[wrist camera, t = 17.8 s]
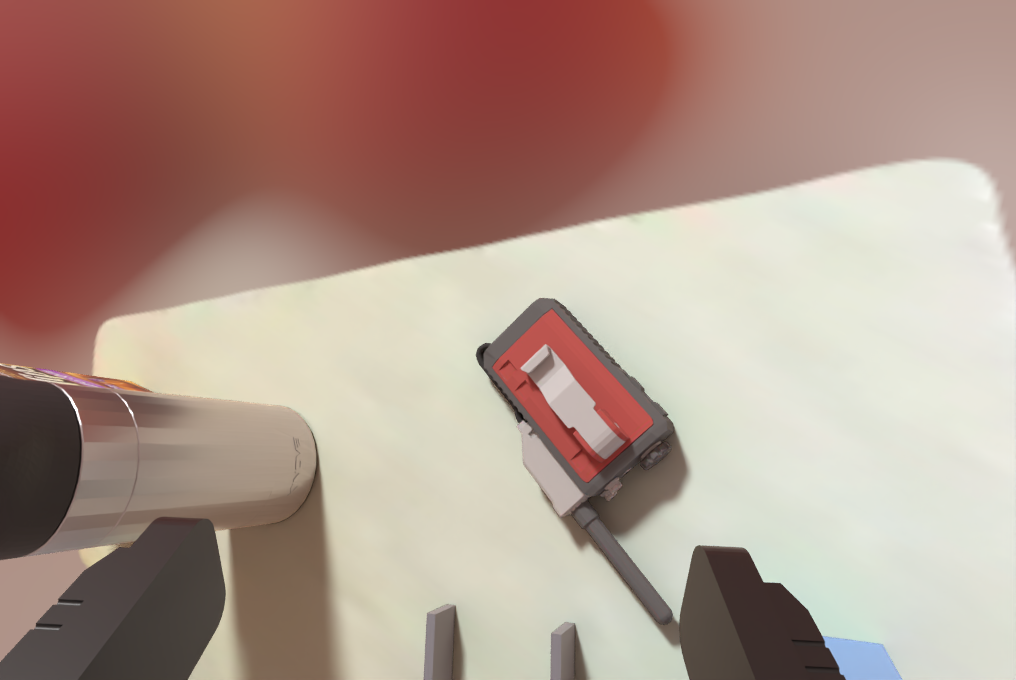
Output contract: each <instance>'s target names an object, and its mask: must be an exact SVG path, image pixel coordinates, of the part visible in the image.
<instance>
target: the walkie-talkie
mask: <svg viewBox="0 0 1016 680" xmlns="http://www.w3.org/2000/svg"><path fill="white" fill-rule="evenodd" d="M581 325H582V324H581V323H580V322H578V321H577V320H576V318H575V317H574V316H573V315H571V312H570V311H568V310H567V309H566V307H565V306H564V305H562V304H561V303H560V302H558V301H557V300H555V299H548V298H539V299H538V300H536V301H535V302H533V303H532V304H531V305H530V306H529V307H528V308H527V309H526V310H525V311H524V312H523V313H522V314H521V315H520V316H519V317H518V318H517V319H516V320H515V321H514V322H513V323H512V324H511V325H510V326H509V327H508V328H507V329H506V330H505V331H504V332H503V333H502V334H501V335H500V336H499V337H498V338H497V339H496V340H495V341H494V342H493V343H492V344H491V343H485V344H483V345H481V346H480V347H479V348H478V349H477V353H476V357H477V360H478V363H479V365H480V366H481V367H482V368H483V370H484V371H485V372H486V374H487V375H488V376H489V377H490V379H491V380H492V381H493V382H494V384H495V385H496V386H497V387H498V389H499V390H500V391H501V393H502V394H503V395H504V396H505V398H506V399H507V400H508V401H509V403H510V404H511V405H512V407H513V409H514V410H515V414H516V419H517V420H518V422H519V424H518V425H517V426H516V427H517V428H518V429H519V431H520V432H521V434H522V452H523V464H524V466H525V467H526V469H527V470H528V471H529V473H530V474H531V475H532V477H533V478H534V479H535V481H536V482H537V483H538V485H539V486H540V487H541V489H542V490H543V491H544V493H545V494H546V495H547V497H548V498H549V499H550V501H551V502H552V503H553V508H554V510H555V511H556V512H557V514H558V515H559V516H560V517H564V516H568V515H570V514H571V515H572V516H573V518H574V519H575V520H576V521H577V523H578V524H579V525H580V527H581V528H582V529H586V531H587V532H588V533H589V534H590V536H591V537H592V538H593V540H594V541H595V542H596V544H597V545H598V546H599V547H600V549H601V550H602V551H603V553H604V554H605V555H606V556H607V558H608V559H609V560H610V562H611V563H612V564H613V565H614V567H615V568H616V569H617V571H618V572H619V573H620V575H621V576H622V577H623V578H624V580H625V581H626V582H627V584H628V585H629V586H630V587H631V589H632V590H633V591H634V593H635V594H636V595H637V596H638V598H639V599H640V600H641V602H642V603H643V604H644V606H645V607H646V608H647V609H648V611H649V612H650V613H651V615H652V616H653V617H654V618H655V620H656V621H657V622H658V623H659V624H663V625H665V624H668V623H670V622H671V620H672V616H673V613H672V611H671V609H670V608H669V606H668V605H667V604H666V603H665V601H664V600H663V599H662V598H661V596H660V595H659V594H658V593H657V591H656V590H655V589H654V587H653V586H652V585H651V584H650V582H649V581H648V580H647V579H646V577H645V576H644V575H643V573H642V572H641V571H640V570H639V568H638V567H637V566H636V565H635V563H634V562H633V561H632V560H631V558H630V557H629V556H628V554H627V553H626V552H625V551H624V549H623V548H622V547H621V546H620V544H619V543H618V542H617V540H616V539H615V538H614V537H613V535H612V534H611V533H610V532H609V530H608V529H607V528H606V527H605V525H604V524H603V523H602V521H601V520H600V519H599V514H598V513H597V512H596V510H595V509H594V508H593V507H592V505H591V504H590V503H589V502H588V500H587V499H588V498H589V497H591V496H597V495H600V496H601V497H603V496H604V497H605V499H606V500H607V501H609V500H611V499H612V498H613V497H614V496H616V494H617V493H618V492H617V491H618V490H619V489H620V488H621V487H622V486H623V485H622V483H621V482H620V481H619V479H621V478H622V477H623V476H624V475H625V474H626V473H628V472H629V471H630V470H631V469H632V468H633V467H634V466H635V465H636V464H638V463H639V462H640V461H641V462H640V465H641V467H642V468H643V469H644V470H648V469H650V468H651V467H653V466H654V465H656V464H657V463H658V462H659V461H661V460H662V459H663V458H664V457H665V456H666V455H667V454H668V453H669V452H670V451H671V446H670V445H669V444H668V442H663V441H664V440H665V439H666V438H667V437H668V436H669V435H670V434H671V433H673V432H674V429H673V422H672V421H671V420H670V419H669V418H668V417H667V415H668V414H667V413H666V412H665V410H664V409H663V408H662V407H661V406H660V405H659V404H658V403H656V402H653V401H652V400H651V399H650V398H649V397H648V395H647V394H646V393H645V392H644V388H643V387H642V386H641V385H640V383H639V382H638V381H637V380H636V379H635V378H633V377H632V376H631V377H630V376H629V375H628V374H627V373H626V372H625V371H624V370H623V369H621V368H620V365H619V364H617V363H616V362H614V359H613V358H612V357H610V356H609V353H608V352H606V351H605V350H603V347H602V346H601V345H599V344H598V341H597V340H595V339H594V338H592V335H591V334H590V333H588V332H587V329H586V328H584V327H583V326H581ZM525 419H526V420H525ZM661 442H662V443H661Z"/></svg>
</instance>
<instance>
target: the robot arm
mask: <svg viewBox="0 0 1016 680" xmlns="http://www.w3.org/2000/svg"><path fill="white" fill-rule="evenodd" d="M315 470H316V449H315V443H314V439H313V436H312V433H311V430H310V428H309V427H308V425H307V424H306V422H305V420H304V419H303V418H302V417H301V416H300V415H299V414H298V413H297V412H295V411H293V410H292V409H290V408H287V407H283V406H278V405H268V404H259V403H249V402H241V401H231V400H221V399H211V398H201V397H191V396H181V395H171V394H162V393H152V392H142V391H132V390H122V389H112V388H102V387H89V386H80V385H70V384H60V383H50V382H43V381H32V380H24V379H17V378H12V377H8V376H3V375H0V560H3V559H11V558H18V557H26V556H33V555H41V554H49V553H55V552H63V551H71V550H79V549H84V548H91V547H99V546H106V545H114V544H121V543H129V542H134V543H133V545H132V546H131V547H130V548H123V547H119V548H118V549H116V550H115V551H113V552H112V553H110V554H109V555H107V556H106V557H104V558H103V559H101V560H100V561H98V562H97V563H95V564H94V565H92V566H91V567H89V568H88V569H86V570H85V571H84V572H83V573H82V574H81V575H80V576H79V577H78V578H77V579H76V581H75V582H74V583H73V584H72V585H71V586H70V587H69V588H68V589H67V590H66V591H65V593H63V595H62V596H61V597H60V598H59V599H58V600H59V601H58V603H57V605H52V607H51V608H50V609H49V610H48V611H47V612H46V613H45V614H44V615H43V616H42V617H41V618H40V620H39V621H38V622H37V623H36V627H35V629H34V630H30V631H29V632H28V633H27V634H26V635H25V636H24V637H23V638H22V639H21V640H20V641H19V642H18V644H17V645H16V646H15V647H14V648H13V649H12V650H11V651H10V652H9V653H8V654H7V655H6V656H5V658H4V659H3V660H2V661H1V662H0V680H188V678H189V676H190V674H191V673H192V671H193V669H194V667H195V666H196V664H197V662H198V661H199V659H200V657H201V655H202V654H203V652H204V650H205V648H206V647H207V645H208V643H209V641H210V640H211V638H212V636H213V634H214V633H215V631H216V629H217V627H218V625H219V622H220V620H221V617H222V613H223V610H224V605H225V595H226V591H225V583H224V578H223V572H222V567H221V561H220V556H219V550H218V545H217V539H216V534H215V531H219V530H226V529H236V528H243V527H250V526H257V525H265V524H271V523H277V522H280V521H282V520H284V519H287V518H288V517H290V516H291V515H292V514H293V513H295V512H296V511H297V510H298V508H299V507H300V506H301V505H302V504H303V502H304V501H305V499H306V497H307V495H308V493H309V492H310V489H311V486H312V483H313V480H314V476H315ZM679 631H680V643H681V649H682V654H683V658H684V662H685V665H686V669H687V672H688V676H689V679H690V680H846V679H845V677H844V675H841V674H840V671H839V666H838V664H837V662H836V660H835V659H834V657H833V655H832V653H831V651H830V649H829V648H826V646H825V640H824V639H823V637H822V635H821V633H820V631H819V629H818V628H817V626H816V624H815V622H814V620H813V618H812V617H811V615H810V613H809V611H808V610H807V609H806V608H805V607H804V606H803V605H802V604H801V603H800V602H799V601H798V600H797V599H796V598H795V597H794V596H793V595H792V594H791V593H790V592H789V591H788V590H787V589H786V588H785V587H784V586H783V585H782V584H781V583H765V582H763V581H762V578H761V576H760V574H759V572H758V570H757V568H756V566H755V564H754V562H753V560H752V558H751V556H750V554H749V553H748V551H747V550H746V549H744V548H739V547H720V546H700V545H699V546H696V547H695V549H694V551H693V555H692V559H691V564H690V569H689V574H688V579H687V583H686V588H685V593H684V598H683V603H682V607H681V613H680V623H679Z"/></svg>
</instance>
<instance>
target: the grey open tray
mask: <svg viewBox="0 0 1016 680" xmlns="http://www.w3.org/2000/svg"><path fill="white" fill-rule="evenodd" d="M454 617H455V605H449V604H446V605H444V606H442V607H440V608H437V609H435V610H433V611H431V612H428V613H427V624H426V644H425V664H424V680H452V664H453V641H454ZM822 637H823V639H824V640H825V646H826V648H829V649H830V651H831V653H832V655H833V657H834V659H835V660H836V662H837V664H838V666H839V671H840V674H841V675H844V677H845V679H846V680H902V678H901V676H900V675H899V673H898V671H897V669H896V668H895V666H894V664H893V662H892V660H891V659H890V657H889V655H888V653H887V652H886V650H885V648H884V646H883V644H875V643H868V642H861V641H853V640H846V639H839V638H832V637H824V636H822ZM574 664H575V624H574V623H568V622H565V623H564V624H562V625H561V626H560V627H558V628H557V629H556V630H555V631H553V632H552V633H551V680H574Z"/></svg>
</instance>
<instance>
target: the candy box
mask: <svg viewBox="0 0 1016 680" xmlns="http://www.w3.org/2000/svg"><path fill="white" fill-rule="evenodd" d="M0 375H3V376H8V377H12V378H17V379H24V380H32V381H43V382H50V383H60V384H70V385H80V386H89V387H102V388H112V389H122V390H132V391H142V392H151V391H149V390H147V389H145V388H143V387H141V386H139V385H137V384H135V383H133V382H131V381H125V380H118V379H110V378H103V377H96V376H89V375H82V374H75V373H68V372H60V371H53V370H46V369H38V368H31V367H24V366H17V365H9V364H2V363H0ZM152 393H154V392H152Z"/></svg>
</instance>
